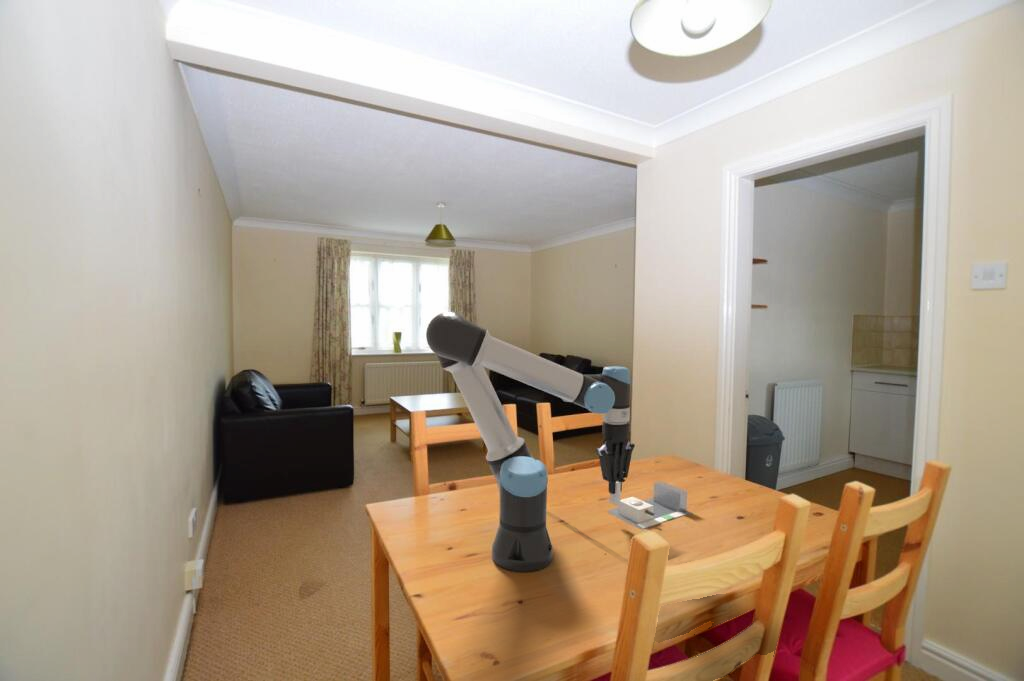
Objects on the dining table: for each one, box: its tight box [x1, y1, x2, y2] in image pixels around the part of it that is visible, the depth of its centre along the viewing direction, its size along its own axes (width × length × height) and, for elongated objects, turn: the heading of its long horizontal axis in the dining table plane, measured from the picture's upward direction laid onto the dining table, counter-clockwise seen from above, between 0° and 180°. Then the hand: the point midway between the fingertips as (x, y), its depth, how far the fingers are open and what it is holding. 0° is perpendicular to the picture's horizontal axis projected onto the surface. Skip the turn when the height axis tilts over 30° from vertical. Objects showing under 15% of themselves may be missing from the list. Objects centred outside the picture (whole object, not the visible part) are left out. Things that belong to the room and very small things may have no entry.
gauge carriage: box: [617, 496, 654, 524], centre depth 136 cm, size 6×11×4 cm, turn 32°
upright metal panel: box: [653, 481, 688, 512], centre depth 145 cm, size 3×10×6 cm, turn 32°
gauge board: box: [606, 497, 693, 530], centre depth 141 cm, size 22×14×2 cm, turn 122°
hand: (615, 503), depth 132 cm, fingers closed
